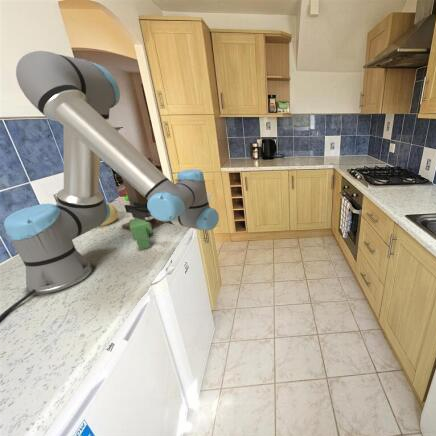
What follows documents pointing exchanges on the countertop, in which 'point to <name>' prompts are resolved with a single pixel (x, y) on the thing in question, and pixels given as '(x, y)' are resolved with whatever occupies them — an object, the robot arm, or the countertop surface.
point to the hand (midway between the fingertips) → (130, 206)
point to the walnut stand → (137, 197)
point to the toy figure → (141, 232)
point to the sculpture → (111, 215)
